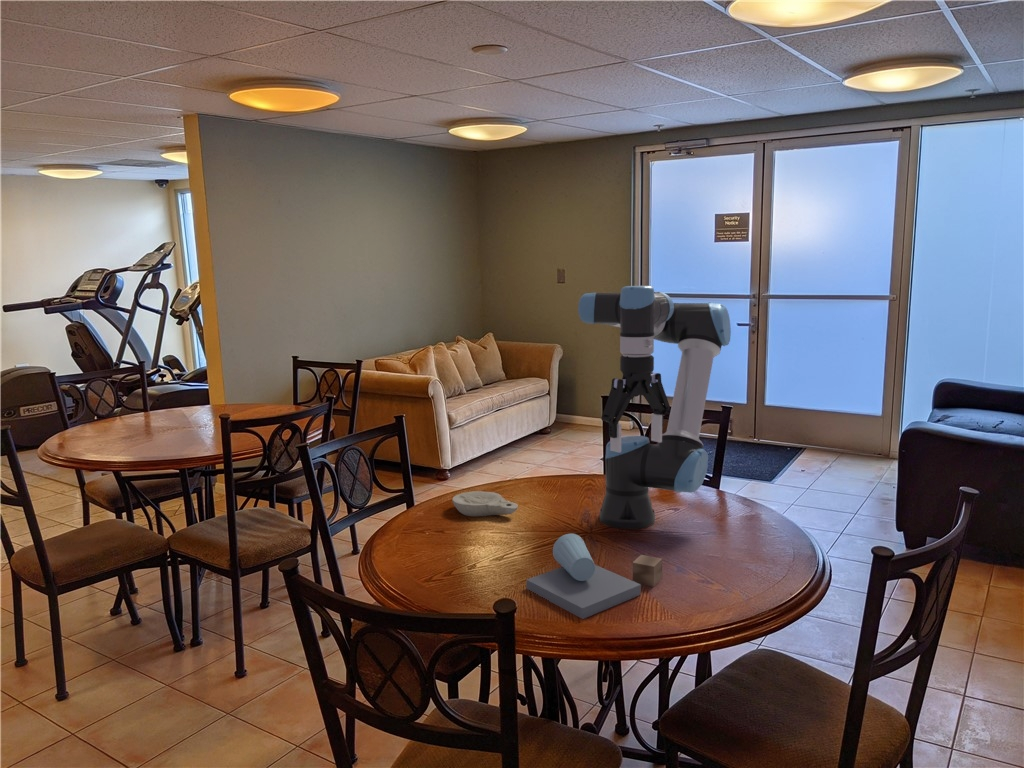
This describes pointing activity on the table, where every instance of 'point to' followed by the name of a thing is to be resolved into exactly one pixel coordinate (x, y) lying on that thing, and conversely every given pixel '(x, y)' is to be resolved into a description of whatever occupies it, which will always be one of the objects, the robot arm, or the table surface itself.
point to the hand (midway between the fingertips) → (636, 446)
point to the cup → (574, 556)
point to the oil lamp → (483, 504)
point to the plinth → (584, 590)
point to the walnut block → (647, 570)
